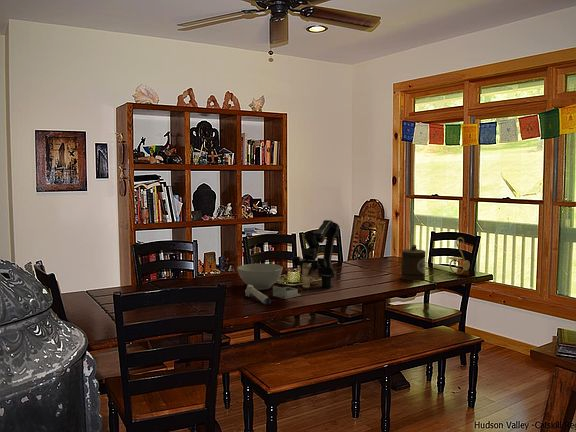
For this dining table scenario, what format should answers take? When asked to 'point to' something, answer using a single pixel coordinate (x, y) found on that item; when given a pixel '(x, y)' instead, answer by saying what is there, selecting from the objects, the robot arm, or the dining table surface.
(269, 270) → the decorative bowl
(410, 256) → the wooden container
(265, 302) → the grey pestle
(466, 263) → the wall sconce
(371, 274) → the dining table surface
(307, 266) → the cream cylinder
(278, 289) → the grey rectangular box
